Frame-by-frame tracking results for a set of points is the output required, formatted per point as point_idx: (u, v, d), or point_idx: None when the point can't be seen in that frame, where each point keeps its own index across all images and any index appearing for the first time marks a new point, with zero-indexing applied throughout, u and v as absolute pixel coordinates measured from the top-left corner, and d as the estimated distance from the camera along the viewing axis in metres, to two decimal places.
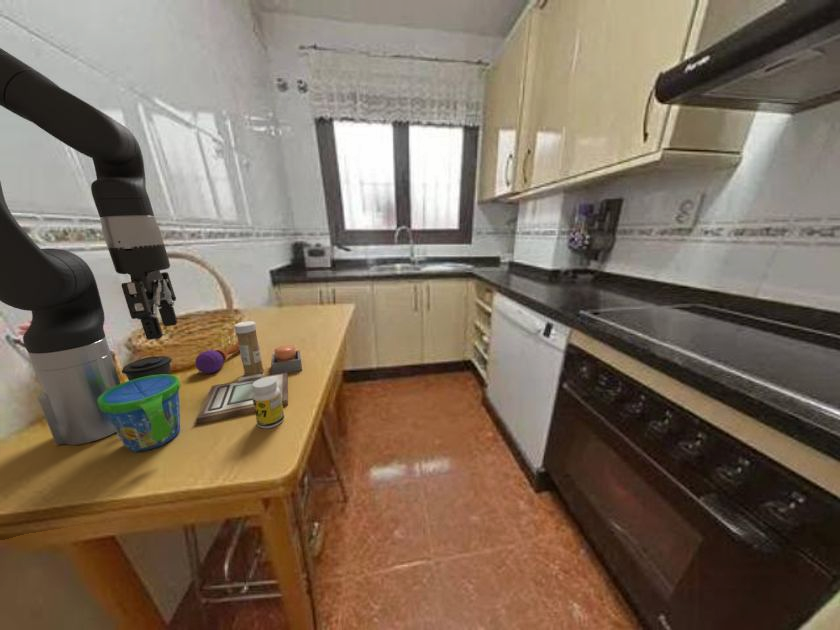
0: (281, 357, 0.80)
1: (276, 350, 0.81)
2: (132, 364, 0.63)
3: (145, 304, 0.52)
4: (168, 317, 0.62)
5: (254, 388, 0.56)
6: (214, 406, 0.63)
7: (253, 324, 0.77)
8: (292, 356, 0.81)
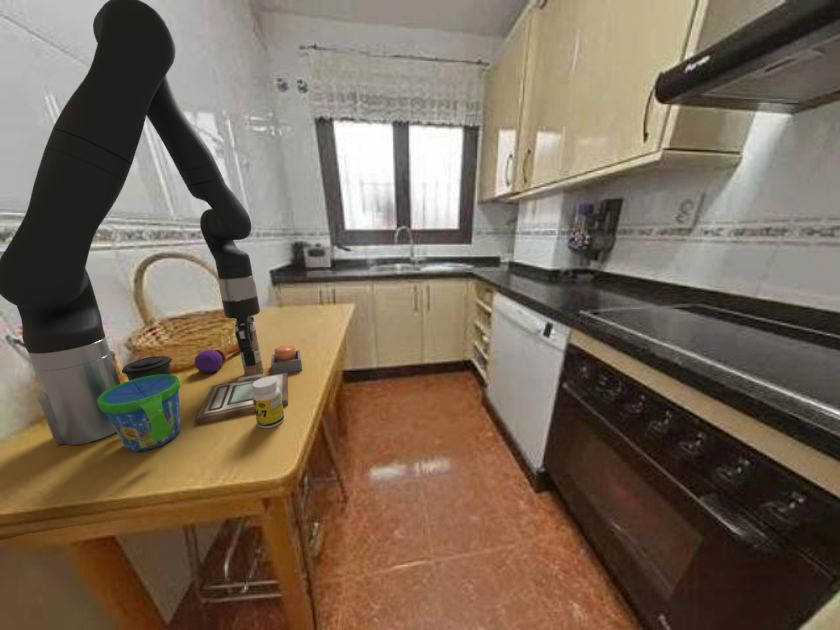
0: (281, 357, 0.80)
1: (276, 350, 0.81)
2: (132, 364, 0.63)
3: (250, 344, 0.73)
4: None
5: (254, 388, 0.56)
6: (214, 406, 0.63)
7: (253, 324, 0.77)
8: (292, 356, 0.81)
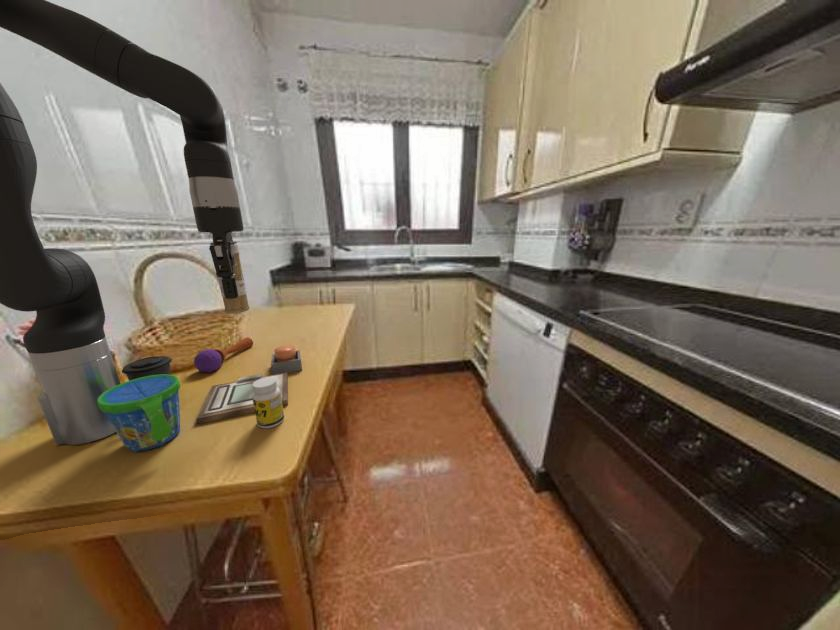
0: (281, 357, 0.80)
1: (276, 350, 0.81)
2: (132, 364, 0.63)
3: (229, 266, 0.57)
4: None
5: (254, 388, 0.56)
6: (214, 406, 0.63)
7: (235, 245, 0.60)
8: (292, 356, 0.81)
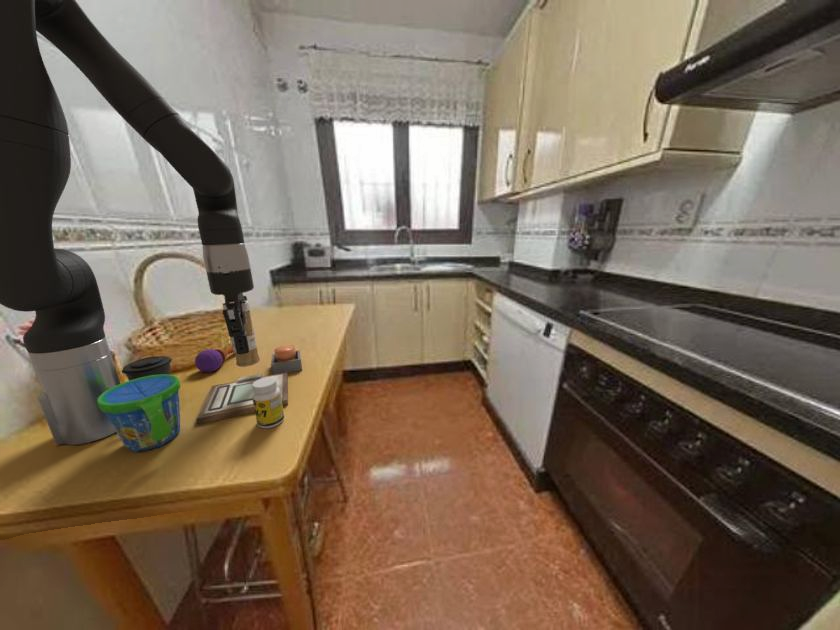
0: (281, 357, 0.80)
1: (276, 350, 0.81)
2: (132, 364, 0.63)
3: (241, 327, 0.60)
4: None
5: (254, 388, 0.56)
6: (214, 406, 0.63)
7: (246, 303, 0.63)
8: (292, 356, 0.81)
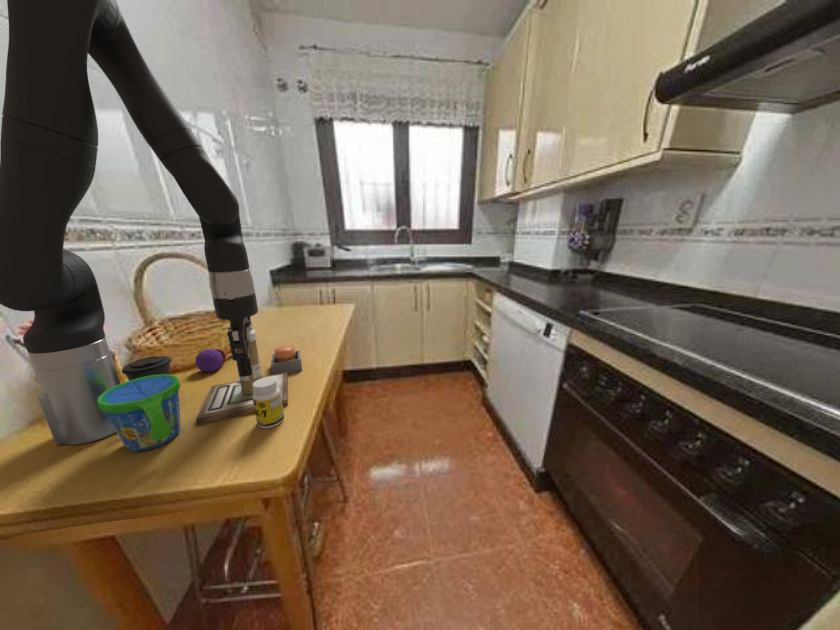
0: (281, 357, 0.80)
1: (276, 350, 0.81)
2: (132, 364, 0.63)
3: (245, 349, 0.60)
4: None
5: (254, 388, 0.56)
6: (214, 406, 0.63)
7: (253, 333, 0.65)
8: (292, 356, 0.81)
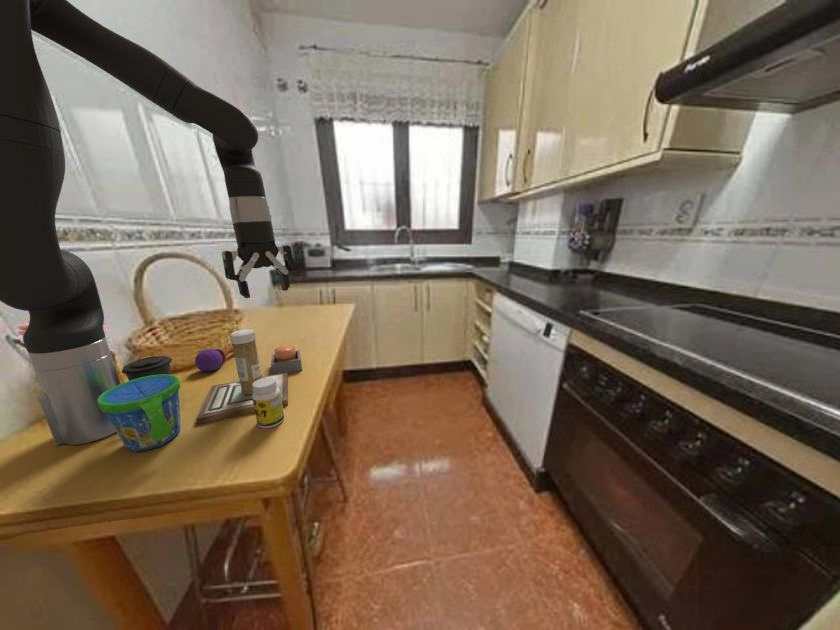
0: (281, 357, 0.80)
1: (276, 350, 0.81)
2: (132, 364, 0.63)
3: (228, 269, 0.65)
4: (282, 283, 0.74)
5: (254, 388, 0.56)
6: (214, 406, 0.63)
7: (252, 333, 0.65)
8: (292, 356, 0.81)
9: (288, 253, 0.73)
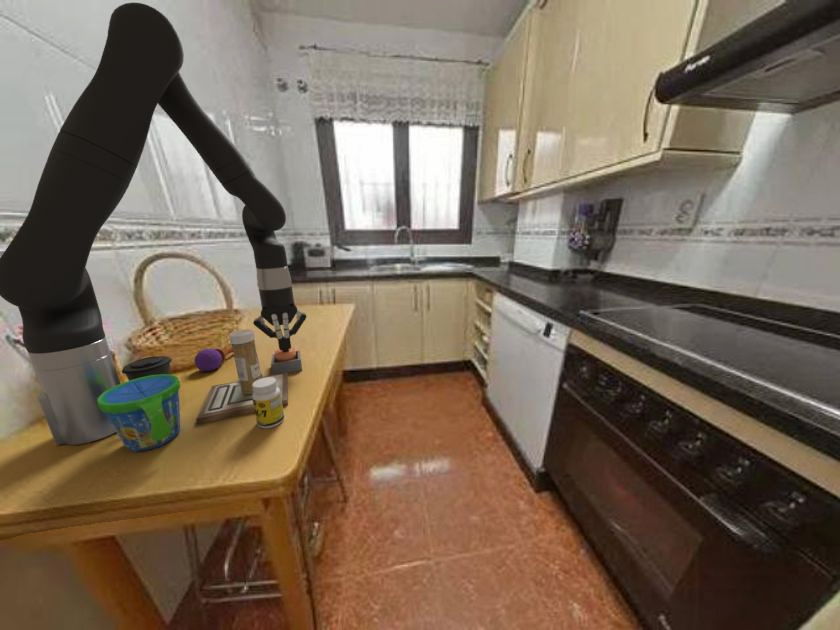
0: (281, 360, 0.80)
1: (276, 352, 0.81)
2: (132, 364, 0.63)
3: None
4: None
5: (254, 388, 0.56)
6: (214, 406, 0.63)
7: (251, 333, 0.65)
8: (292, 358, 0.81)
9: (300, 320, 0.81)
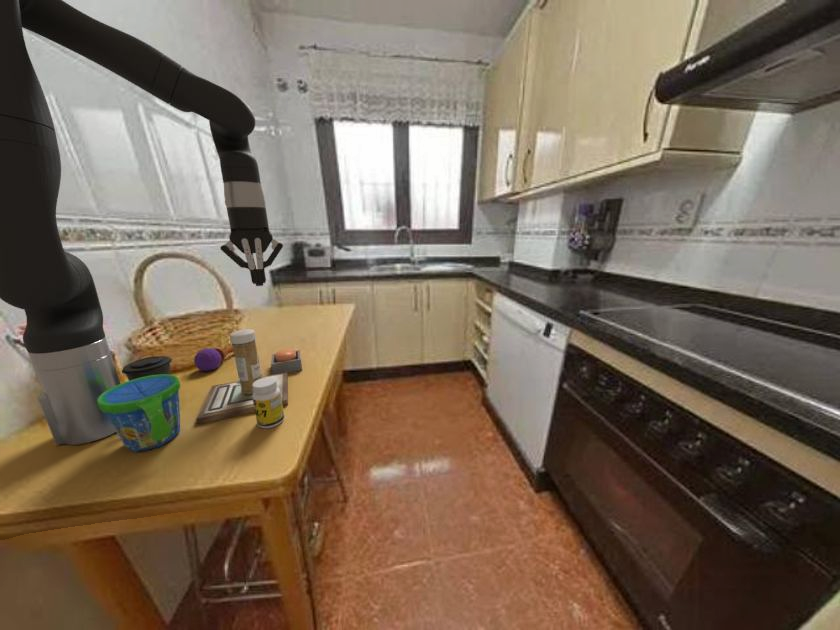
0: None
1: (277, 354, 0.81)
2: (132, 364, 0.63)
3: (234, 261, 0.68)
4: None
5: (254, 388, 0.56)
6: (214, 406, 0.63)
7: (252, 333, 0.65)
8: None
9: (276, 249, 0.71)
